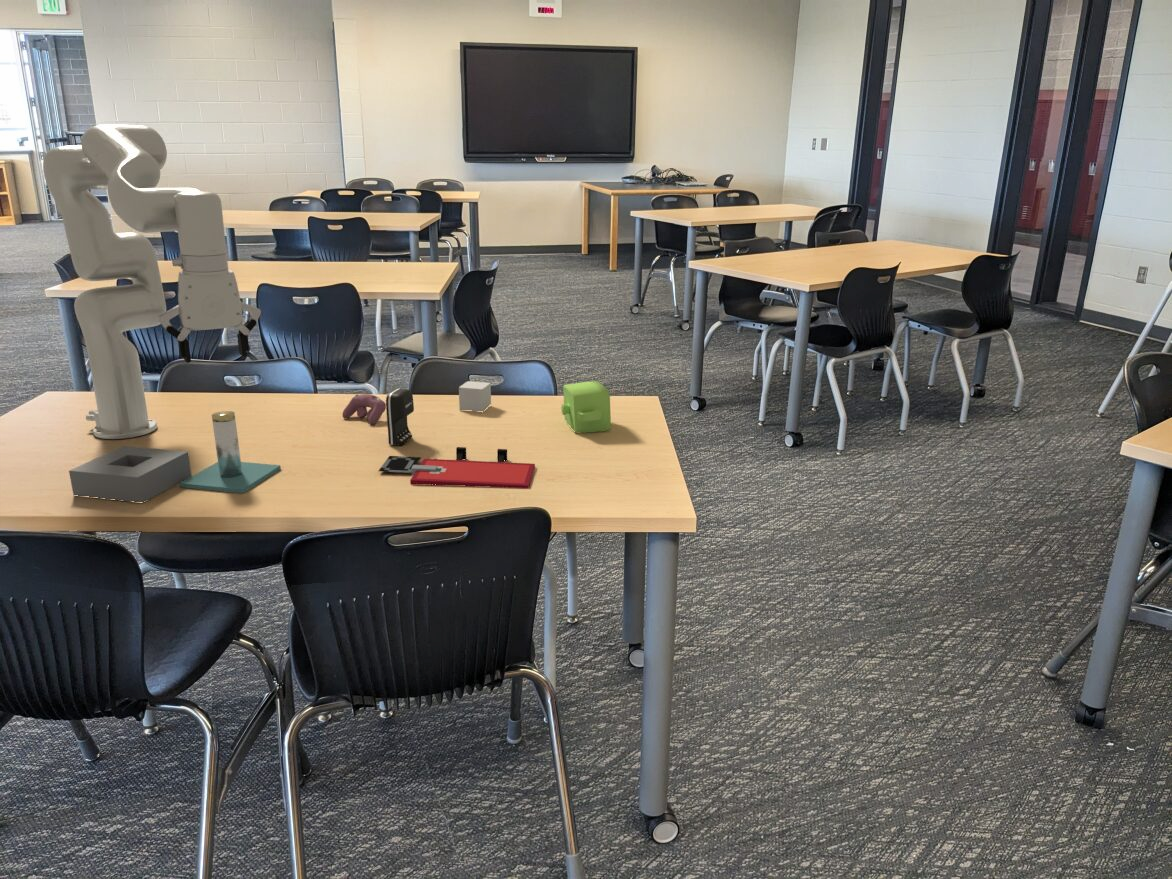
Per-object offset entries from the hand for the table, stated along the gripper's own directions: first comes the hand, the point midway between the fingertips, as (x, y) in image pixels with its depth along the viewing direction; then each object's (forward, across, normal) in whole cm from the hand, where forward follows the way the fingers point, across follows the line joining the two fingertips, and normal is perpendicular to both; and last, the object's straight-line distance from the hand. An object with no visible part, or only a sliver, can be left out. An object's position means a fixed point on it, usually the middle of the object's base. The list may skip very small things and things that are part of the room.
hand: (215, 358), depth 159 cm
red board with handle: (+24, +39, -20) cm, 49 cm away
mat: (+23, 0, -1) cm, 23 cm away
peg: (+23, 0, -1) cm, 23 cm away
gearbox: (+23, +76, -8) cm, 80 cm away
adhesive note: (+24, +61, +17) cm, 68 cm away
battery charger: (+24, +36, +3) cm, 43 cm away
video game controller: (+24, +35, +22) cm, 48 cm away
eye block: (+24, -16, +4) cm, 29 cm away
